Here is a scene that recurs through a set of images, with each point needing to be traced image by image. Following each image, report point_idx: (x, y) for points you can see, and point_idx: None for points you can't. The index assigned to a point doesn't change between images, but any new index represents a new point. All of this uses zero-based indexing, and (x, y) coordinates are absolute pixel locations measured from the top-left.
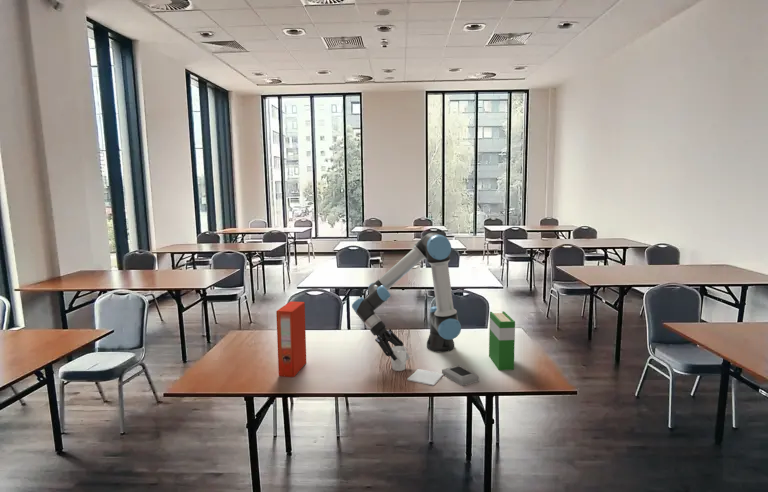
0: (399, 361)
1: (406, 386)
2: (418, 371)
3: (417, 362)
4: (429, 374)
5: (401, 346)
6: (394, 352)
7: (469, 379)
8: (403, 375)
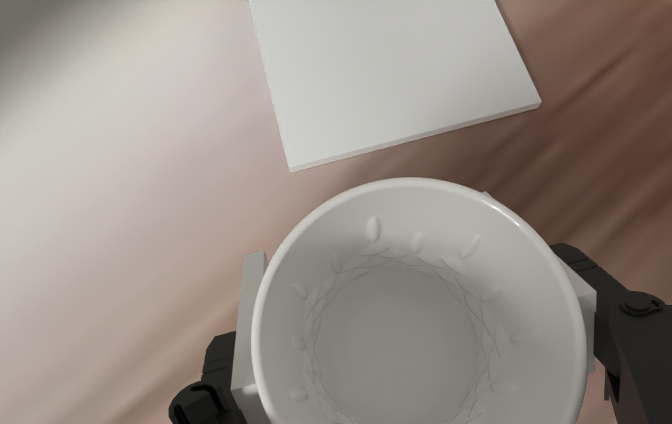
0: None
1: (625, 42)
2: (340, 129)
3: (138, 297)
4: (327, 32)
5: (265, 377)
6: (576, 292)
7: None
8: None
